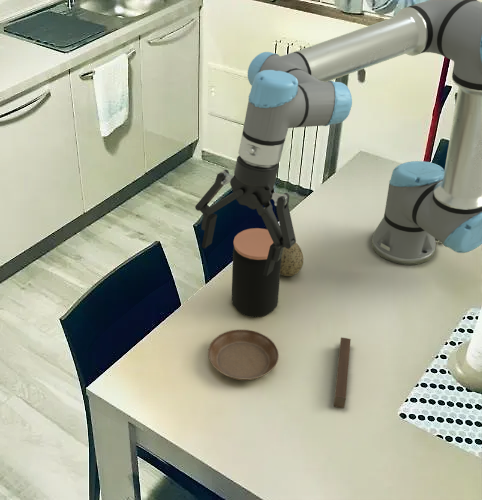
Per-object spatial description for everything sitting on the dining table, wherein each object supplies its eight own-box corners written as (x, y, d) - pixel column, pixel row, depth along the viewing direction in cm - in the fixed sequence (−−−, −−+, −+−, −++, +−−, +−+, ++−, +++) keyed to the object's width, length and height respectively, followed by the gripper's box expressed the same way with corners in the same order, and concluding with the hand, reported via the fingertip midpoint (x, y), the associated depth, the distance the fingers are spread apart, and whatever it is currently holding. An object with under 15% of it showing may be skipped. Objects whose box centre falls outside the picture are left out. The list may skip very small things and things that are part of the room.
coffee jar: (283, 295, 170) (288, 233, 160) (269, 324, 163) (274, 261, 152) (240, 285, 174) (242, 223, 163) (224, 312, 167) (226, 250, 156)
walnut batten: (348, 348, 155) (350, 338, 154) (344, 408, 142) (345, 398, 141) (339, 347, 156) (341, 337, 154) (333, 406, 143) (335, 396, 141)
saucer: (206, 337, 160) (206, 329, 158) (273, 337, 159) (274, 328, 158) (209, 388, 148) (209, 379, 147) (281, 387, 148) (282, 378, 146)
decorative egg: (307, 276, 175) (311, 243, 169) (283, 286, 173) (286, 253, 167) (290, 261, 181) (293, 228, 175) (266, 270, 178) (268, 237, 172)
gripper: (188, 142, 131) (172, 241, 142) (314, 190, 120) (286, 293, 131) (209, 131, 136) (192, 227, 148) (331, 176, 126) (303, 276, 137)
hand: (236, 258), depth 139 cm, fingers open, 13 cm apart
